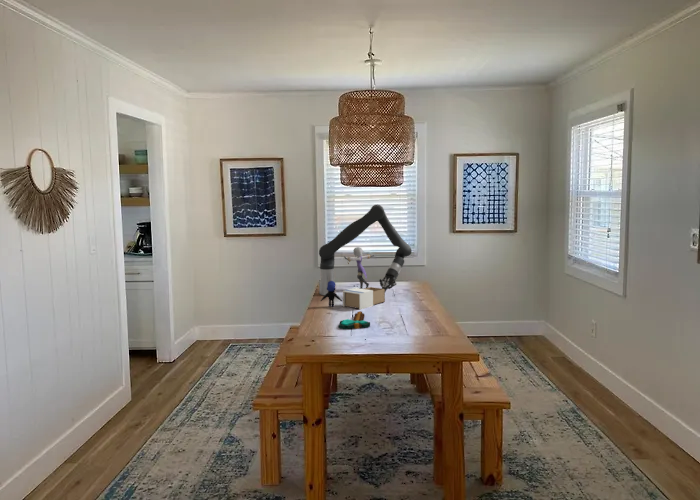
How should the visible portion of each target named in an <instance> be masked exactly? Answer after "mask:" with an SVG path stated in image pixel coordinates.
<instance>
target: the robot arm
mask: <svg viewBox="0 0 700 500" xmlns="http://www.w3.org/2000/svg"><path fill="white" fill-rule="evenodd" d="M376 222H378V224H379V225H380V226H381V228H382V229H383V231H384V233H385V235H386V237H387V238H388V240H389V241H390V242H391V244H392V245H393V247H397V249H396V252H395V253H394V258H393V260H392V262H391V264H390V265H389V267H388V269H387V270H386V272H385V276H384V277H383V279H381V278H380V279H378V281H379V284H380V285H379V286H380V287H381V289H385V293H386V292H387V290H388V289H389V290H391V289H392V288H393V287H394V286H397V282H396V281H397V278H398V276H399V275H400V272H401V271H402V268H403V266H404V264H405V258H406V257H409V256H410V255H412V248H411V246H410V245H409V243H407V242H406V241H405V240H404V239H403V238H402V236H401V235H400V233H399V232H398V231H397V229H396V228H395V227H394V225H393V224H392V222H391V221H390V219H389V218H388V216H387V213H386V212H385V208H384V207H383V206H382V205H380V204H373V205H372V207H370V209H369V211H368V212H366V213H365V214H364V215H363V216H362V217H360V218H359V219H356V220H355V221H353V222H351V223H350V224H349V225H347V226H346V227H345V228H344V229H343V230H341V231H340V232H339V233H338V234H337V235H336V236H335V237H334V238H333V239H332V240H330V241H328V242H327V243H325V244H323V245H322V246H321V247H320V248H319V251H318V255H319V257H320V262H319V263H320V264H319V274H320V275H319V278H320V279H319V282H318V283H319V287H318V288H319V290H318V291H319V295H321V296H325V294H327V293H328V290H327V286H328V285H327V284H328V282H329V281H334V282H335V254H336V253H337V251H339V249H342V248H343V247H345V246H346V245H348V244H349V243H351V242H353V241H354V240H355V239H356V238H357V237H359V236H360V235H361V234H362V233H363V232H365V231H366V230H367V229H368V228H369V227H370V226H371V225H373V224H375V223H376Z"/></svg>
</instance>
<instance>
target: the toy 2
mask: <svg viewBox="0 0 700 500" xmlns="http://www.w3.org/2000/svg"><path fill="white" fill-rule="evenodd" d="M364 319H365V313H363V311H357V313H354V315H353V319H349V318H347V319H342V320H340V321H339V324H338V328H339V329H342V330H346V329H348V330H351V329H355V330H358V329H361V328H364V329H367V328H370V327H371V322H370V321H366V320H364Z"/></svg>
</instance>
